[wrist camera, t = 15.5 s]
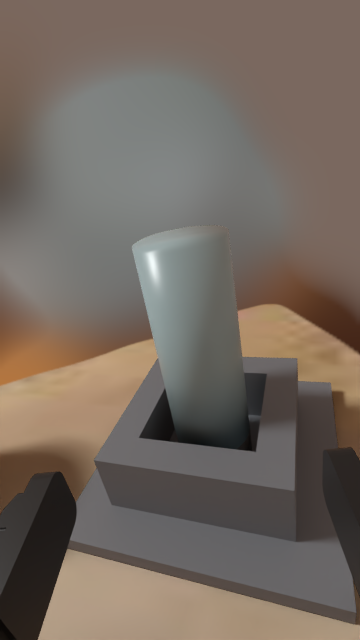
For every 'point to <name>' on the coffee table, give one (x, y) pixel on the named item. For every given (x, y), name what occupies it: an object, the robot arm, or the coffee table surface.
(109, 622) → the coffee table surface
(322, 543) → the socket block
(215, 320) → the peg
